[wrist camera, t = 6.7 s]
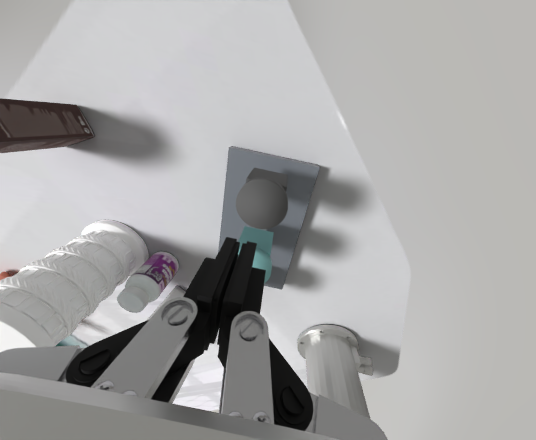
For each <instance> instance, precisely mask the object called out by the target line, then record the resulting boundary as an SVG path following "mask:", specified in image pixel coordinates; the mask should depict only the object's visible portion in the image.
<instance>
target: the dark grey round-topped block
mask: <svg viewBox="0 0 536 440" xmlns="http://www.w3.org/2000/svg"><path fill="white" fill-rule="evenodd" d="M287 178H288V175H287V174H282V173H277V172H273V171H268V170H264V169H259V168H253V170H252V171H251V173H250V174H249V175H248V177H247V178H246V183H245V184H244V185H243V187H242V188H241V190H240V191H239V193H238V195H237V198H236V209H237V212H238V214H239V216H240V218H241V219H242V220H243V221H244V222H245V223H246V224H248V225H249V226H251V227H254V228H257V229H269V228H273V227H275V226H277V225H278V224H280V223H281V222H282V221H283V220H284V218H285V216H286V214H287V211H288V196H287V193H286V190H287Z"/></svg>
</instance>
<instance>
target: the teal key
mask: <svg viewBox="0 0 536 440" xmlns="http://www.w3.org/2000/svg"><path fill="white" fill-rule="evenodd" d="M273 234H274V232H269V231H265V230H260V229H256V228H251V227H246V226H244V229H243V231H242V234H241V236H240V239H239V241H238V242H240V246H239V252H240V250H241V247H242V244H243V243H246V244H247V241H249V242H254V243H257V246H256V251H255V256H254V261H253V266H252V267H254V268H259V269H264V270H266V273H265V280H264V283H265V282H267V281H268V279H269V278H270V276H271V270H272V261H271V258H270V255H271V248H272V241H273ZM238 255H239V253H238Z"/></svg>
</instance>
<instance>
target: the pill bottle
mask: <svg viewBox="0 0 536 440" xmlns="http://www.w3.org/2000/svg"><path fill="white" fill-rule="evenodd" d="M178 269H179V264H178V261H177V259H176V258H175V257H174V256H173V255H171V254H170V253H167V252H156V253H155V254H153V255H152V256H151V257H150V258H149V259H148V260H147V261H146V262H145V263H144V264H143V265H142V266H141V267H140V268H139V269H138V270H137V271H136V272H135V273H134V274H133V275H132V276H130V277H129V279H128V280H127V282H126V285H125V289H124V290H123V291H122V292H121V293H120V294H119V295H118V297H117V301H118V303H119V305H120V306H121V307H122V308H124V309H125V310H127V311H129V312H134V313H137V312H141V311H142V310H143V309H144V308H145V307H146V306H147V304H148V303H149V302H152V301H154V300H156V299H157V298H158V297H159V296H160V294H161V293H162V291H163V290H164V289H165V287H166V286H167V285H168V283H169V282H170V281H171V279H172V278H173V277H174V275H175V274H176V273H177V271H178Z"/></svg>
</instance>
